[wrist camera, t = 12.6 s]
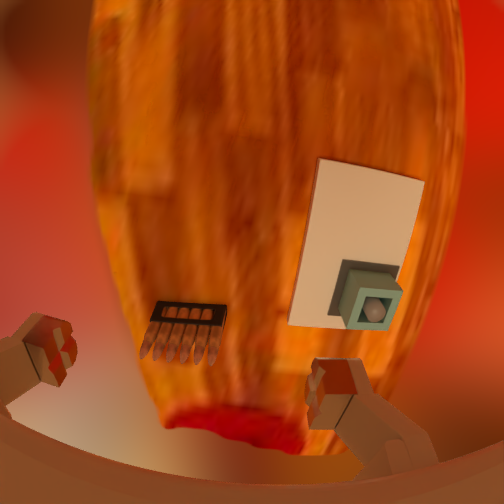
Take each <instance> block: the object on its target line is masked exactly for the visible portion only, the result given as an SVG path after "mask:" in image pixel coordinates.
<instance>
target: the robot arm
mask: <svg viewBox="0 0 504 504" xmlns="http://www.w3.org/2000/svg"><path fill="white" fill-rule="evenodd" d="M72 332H73V330H72V327H71V324H70V323H69V322H68V321H65V320H61V319H58V318H54V317H51V316H48V315H43V314H40V313H37V312H36V313H32V314H31V315H30V317H29V318H28V319H27V320H26V321H25V322H24V323H23V324H22V325H21V326H20V327H19V329H18V330H17V331H16V332H15V333H14V334H13V336H11V337H5V338H3V339H1V340H0V504H504V440H503V441H501V442H499V443H497V444H494V445H492V446H489V447H486V448H484V449H481V450H479V451H476V452H473V453H470V454H468V455H465V456H462V457H459V458H456V459H452V460H449V461H446V462H443V463H439V461H438V459H437V456H436V453H435V451H434V448H433V445H432V443H431V441H430V438H429V435H428V433H427V432H426V431H424V430H423V429H422V428H420V427H419V426H418V425H417V424H415V423H414V422H413V421H411V420H410V419H409V418H407V417H406V416H405V415H404V414H403V413H401V412H400V411H399V410H398V409H396V408H395V407H394V406H393V405H391V404H390V403H389V402H388V401H386V400H385V399H384V398H383V397H381V396H380V395H379V394H374V392H373V390H372V387H371V384H370V381H369V379H368V376H367V373H366V371H365V368H364V365H363V363H362V360H361V359H360V358H345V359H344V358H315V359H314V360H313V362H312V365H311V368H312V373H311V374H310V375H308V377H307V380H306V384H305V403H306V404H307V405H308V406H309V409H308V412H307V418H308V425H309V429H318V430H332V429H335V430H334V431H335V432H336V433H337V435H338V436H339V437H340V438H341V439H342V441H343V442H344V443H345V444H346V445H347V446H348V448H349V449H350V450H351V451H352V452H353V453H354V455H355V456H356V457H357V458H358V459H359V460H360V462H361V463H362V464H363V465H364V466H365V467H364V468H363V469H362V470H361V471H360V473H359V474H358V475H357V476H356V477H355V478H354V479H353V481H346V482H336V483H323V484H303V485H262V484H243V483H229V482H220V481H210V480H203V479H196V478H189V477H184V476H178V475H172V474H167V473H162V472H157V471H153V470H148V469H144V468H140V467H135V466H132V465H128V464H124V463H120V462H117V461H114V460H110V459H107V458H104V457H101V456H97V455H95V454H92V453H89V452H86V451H83V450H80V449H78V448H75V447H72V446H70V445H67V444H64V443H62V442H60V441H57V440H55V439H52V438H50V437H48V436H45V435H43V434H41V433H39V432H37V431H35V430H32V429H30V428H28V427H26V426H24V425H22V424H20V423H18V422H16V421H14V420H12V417H11V414H10V412H9V411H8V409H7V408H6V405H7V404H9V403H10V402H12V401H13V400H15V399H16V398H18V397H19V396H21V395H22V394H24V393H25V392H27V391H28V390H30V389H31V388H33V387H34V386H36V385H37V384H39V383H40V381H42V382H45V383H47V384H50V385H53V386H56V387H60V386H61V384H62V382H63V380H64V379H65V377H66V375H67V372H66V369H67V368H69V367H71V366H73V364H74V362H75V360H76V356H77V344H76V341H75V340H74V338H73V337H72V336H71V334H72Z"/></svg>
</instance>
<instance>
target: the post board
mask: <svg viewBox="0 0 504 504" xmlns="http://www.w3.org/2000/svg"><path fill="white" fill-rule="evenodd" d="M424 183H425V182H424V181H421V180H419V179H415V178H411V177H407V176H403V175H399V174H395V173H391V172H386V171H382V170H378V169H373V168H369V167H364V166H359V165H354V164H349V163H344V162H339V161H334V160H328V159H323V158H318V160H317V166H316V172H315V178H314V184H313V190H312V196H311V202H310V207H309V213H308V218H307V224H306V229H305V234H304V239H303V245H302V250H301V255H300V260H299V265H298V270H297V275H296V279H295V284H294V289H293V294H292V298H291V303H290V307H289V312H288V316H287V323H288V325H294V326H307V327H322V328H338V329H346V327H345V325H344V322H343V319H342V317H341V314H340V312H339V309H338V307H339V304H340V300H341V297H342V293H343V290H344V287H345V283H346V280H347V276H348V273H349V269H355V270H364V271H373V272H382V273H390V274H391V276H392V277H393V278H394V279H395V281H396V282H397V279H398V276H399V273H400V270H401V267H402V264H403V261H404V258H405V255H406V252H407V248H408V245H409V242H410V238H411V235H412V231H413V227H414V224H415V220H416V216H417V212H418V208H419V204H420V200H421V196H422V192H423V187H424ZM362 308H363V310H364V312H365V314H366V316H367V318H368V320H369V321H370V322H378V321H380V320H381V319H383V317H384V316H385V314H386V310H385V308H384V306H383V305H382V303H381V301H380V300H379V298H378V297H368V296H366V298H365V301H364V304H363V306H362Z"/></svg>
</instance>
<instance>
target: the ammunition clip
mask: <svg viewBox="0 0 504 504" xmlns="http://www.w3.org/2000/svg"><path fill="white" fill-rule="evenodd" d="M226 316H227V306H226V305H219V304H198V303H181V302H165V301H158V302H157V304H156V306H155V309H154V311H153V313H152V316H151V318H150V324H149V326H148V329H147V331H146V333H145V336H144V340H143V343H142V346H141V349H140V359H143V358H144V357H145V356H146V355H147V353H148V352H149V350H150V348H151V346H152V344H153V342H154V341H155V340H156V338H157V340H156V343H155V347H154V350H153V360H154V361H155V360H157V359H158V358H159V356H160V355H161V353H162V351H163V349H164V347H165V345H166V343H167V342H168V340H169V337H170V341H169V345H168V349H167V354H166V359H167V362H170V361H171V360H172V359H173V357H174V356H175V354H176V351H177V349H178V346H179V344H180V343H181V341H182V346H181V351H180V362H181V364H183V363H184V362H185V361H186V359H187V358H188V356H189V353H190V350H191V348H192V345H193V344H194V341H195V350H194V363H195V365H197V364H198V363H199V362H200V361H201V359H202V356H203V353H204V350H205V347H206V345H207V342H208V338H209V348H208V363H209V365H210V366H212V365H213V364H214V362H215V360H216V357H217V353H218V349H219V346H220V344H221V339H222V333H223V329H224V325H225V321H226ZM198 326H199V327H198ZM210 328H211V330H210ZM196 334H197V335H196ZM209 335H210V336H209ZM195 338H196V340H195Z"/></svg>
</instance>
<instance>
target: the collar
mask: <svg viewBox="0 0 504 504" xmlns="http://www.w3.org/2000/svg"><path fill="white" fill-rule="evenodd" d="M402 293H403V290H402V289H401V287H400V286H399V285H398V283H397V282H396V281H395V279H394V278H393V277H392V276H391V274H390V273H382V272H373V271H364V270H355V269H349V273H348V276H347V280H346V283H345V287H344V290H343V293H342V297H341V300H340V304H339V307H338V309H339V312H340V314H341V317H342V319H343V322H344V325H345V327H346V329H357V330H385V331H388V328H389V326H390V324H391V321H392V319H393V316H394V314H395V311H396V309H397V306H398V304H399V301H400V299H401V296H402ZM366 296H368V297H378V298H379V300H380V301H381V303H382V305H383V306H384V308H385V310H386V314H385V316H384V317H383V319H381V320H380V321H378V322H370V321H369V320H368V318H367V316H366V314H365V312H364V310H363V308H362V306H363V304H364V301H365V298H366Z"/></svg>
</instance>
